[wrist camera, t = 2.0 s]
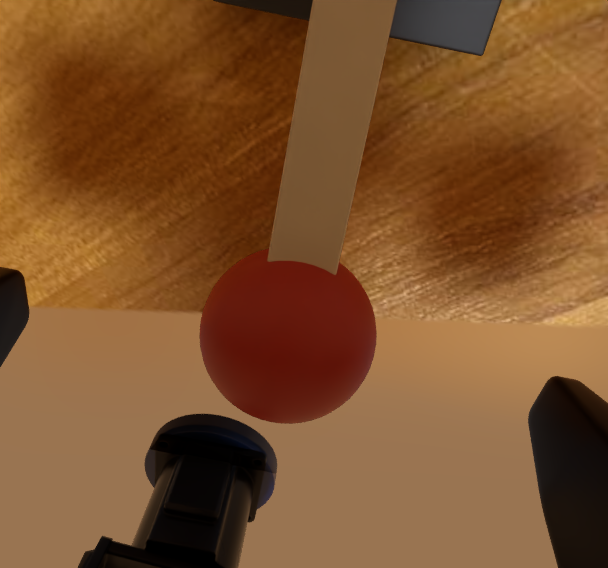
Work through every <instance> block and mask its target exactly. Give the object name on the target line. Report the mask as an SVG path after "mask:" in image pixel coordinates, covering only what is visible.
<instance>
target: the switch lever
mask: <svg viewBox="0 0 608 568" xmlns="http://www.w3.org/2000/svg"><path fill="white" fill-rule="evenodd" d="M396 3H397V0H313V3H312V8H311V14H310V20H309V25H308V31H307V37H306V42H305V48H304V54H303V59H302V65H301V71H300V76H299V82H298V88H297V94H296V99H295V105H294V111H293V116H292V122H291V128H290V133H289V139H288V145H287V150H286V156H285V162H284V167H283V173H282V179H281V184H280V190H279V196H278V201H277V207H276V213H275V218H274V224H273V230H272V236H271V241H270V247H269V248H268V249H265V250H261V251H258V252H256V253H253V254H251V255H249V256H247V257H245V258H243V259H242V260H240V261H239V262H237V263H236V264H235V265H233V266H232V267H231V268H230V269H229V270H228V271H227V272H226V273H225V274H224V275H223V276H222V277H221V278H220V279H219V280H218V282H217V283H216V285H215V286H214V288H213V289H212V291H211V293H210V295H209V297H208V299H207V301H206V304H205V307H204V309H203V313H202V318H201V324H200V347H201V351H202V356H203V361H204V364H205V366H206V369H207V372H208V374H209V375H210V377H211V379H212V381H213V382H214V384H215V385H216V387H217V388H218V390H219V391H220V392H221V393H222V394H223V396H225V398H226V399H227V400H228V401H230V402H231V403H232V404H233V405H234V406H236V407H237V408H239V409H240V410H242V411H243V412H245V413H247V414H249V415H251V416H253V417H256V418H259V419H261V420H266V421H269V422H275V423H289V424H292V423H302V422H306V421H311V420H314V419H317V418H320V417H322V416H325V415H327V414H329V413H331V412H332V411H334V410H335V409H337V408H338V407H340V406H341V405H342V404H344V403H345V402H346V401H347V400H348V399H350V397H351V396H352V395H353V394H354V393H355V392H356V390H357V389H358V388H359V386H360V385H361V384H362V382H363V381H364V379H365V377H366V375H367V373H368V371H369V369H370V366H371V363H372V360H373V357H374V351H375V346H376V325H375V316H374V312H373V308H372V305H371V303H370V300H369V298H368V296H367V294H366V292H365V290H364V289H363V287H362V285H361V284H360V282H359V281H358V280H357V279H356V277H355V276H354V275H353V274H352V273H351V272H350V271H349V270H348V269H347V268H346V267H345V266H343V265H342V264H341V263H339V260H340V256H341V251H342V247H343V242H344V238H345V233H346V229H347V224H348V219H349V215H350V210H351V206H352V201H353V197H354V192H355V188H356V183H357V179H358V174H359V170H360V165H361V161H362V156H363V152H364V147H365V143H366V138H367V134H368V129H369V125H370V120H371V116H372V111H373V107H374V102H375V98H376V93H377V88H378V84H379V79H380V75H381V70H382V66H383V61H384V57H385V52H386V48H387V43H388V39H389V34H390V30H391V25H392V21H393V16H394V12H395V7H396Z"/></svg>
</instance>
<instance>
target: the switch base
mask: <svg viewBox="0 0 608 568" xmlns="http://www.w3.org/2000/svg"><path fill="white" fill-rule="evenodd" d="M214 1H216V2H221V3H226V4H231V5H235V6H240V7H245V8H250V9H255V10H260V11H265V12H269V13H274V14H279V15H284V16H289V17H294V18H299V19H303V20H308V21H309V20H310V14H311V8H312V3H313V0H214ZM501 1H502V0H397V3H396V7H395V12H394V16H393V21H392V25H391V30H390V34H389V37H391V38H396V39H400V40H405V41H410V42H415V43H420V44H425V45H430V46H434V47H439V48H444V49H449V50H454V51H459V52H464V53H468V54H473V55H478V56H482V55H483V54H484V51H485V48H486V45H487V42H488V39H489V36H490V33H491V30H492V27H493V24H494V21H495V18H496V15H497V12H498V9H499V6H500V4H501Z"/></svg>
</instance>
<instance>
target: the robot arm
mask: <svg viewBox="0 0 608 568" xmlns="http://www.w3.org/2000/svg"><path fill="white" fill-rule="evenodd" d="M28 318H29V306H28V299H27V293H26V286H25V280H24V277H23V275H22V273H21V272H19V271H18V270H14V269H9V268H4V267H0V367H1V365H2V364H3V362H4V360H5V359H6V357H7V356H8V354H9V352H10V351H11V349H12V347H13V346H14V344H15V343H16V341H17V339H18V338H19V336H20V334H21V333H22V331H23V329H24V328H25V326H26V324H27V322H28ZM528 423H529V430H530V437H531V443H532V449H533V456H534V462H535V468H536V474H537V481H538V487H539V493H540V498H541V503H542V508H543V513H544V517H545V521H546V525H547V528H548V532H549V536H550V539H551V543H552V546H553V550H554V554H555V558H556V562H557V565H558V568H608V403H607V402H606V401H604V400H603V399H602V398H601V397H599V396H598V395H597V394H595V393H594V392H593V391H592V390H590V389H589V388H588V387H586V386H585V385H584V384H583V383H581V382H580V381H578V380H574V379H569V378H564V377H559V376H555V377H551V378H550V379H549V380H548V381H547V383H546V384H545V386H544V387H543V389H542V391H541V392H540V394H539V396H538V397H537V399H536V401H535V402H534V404H533V406H532V408H531V410H530V412H529V418H528ZM266 461H267V456H266V455H265V454H264V453H263V452H260V451H255V450H250V449H244V448H239V447H234V446H229V445H224V444H218V443H213V442H208V441H203V440H198V439H192V438H187V437H182V436H177V435H171V434H166V433H162V434H160V435H158V437H157V440H156V442H155V488H154V491H153V493H152V496H151V498H150V501H149V503H148V506H147V508H146V510H145V513H144V516H143V518H142V521H141V523H140V525H139V528H138V530H137V533H136V535H135V538H134V541H133V543H132V545H131V546H130V545H127V544H122V543H119V542H115V541H112V540H113V539H112V538H108V537H105V536H102V537H101V539H100V541H99V542H98V544H97V546H96V548H95V550H91V551H86V552H85V553H84V555H83V557H82V560H81V562H80V564H79V566H78V568H238V566H239V561H240V556H241V551H242V546H243V541H244V536H245V531H246V527H247V522H252V521H254V519H255V514H256V510H257V505H258V500H259V495H260V490H261V485H262V481H263V476H264V471H265V466H266Z"/></svg>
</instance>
